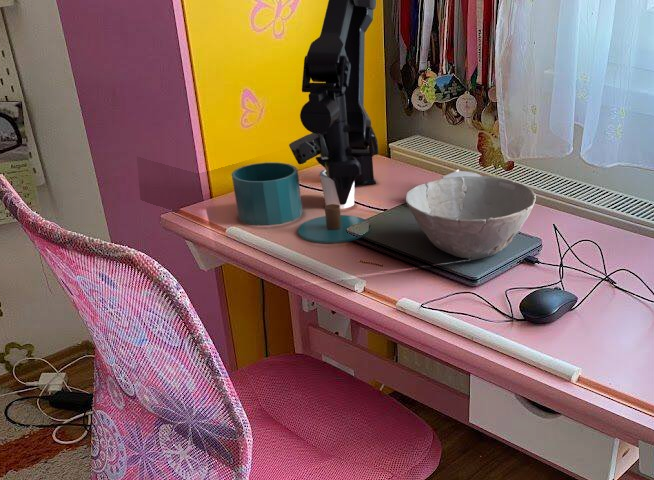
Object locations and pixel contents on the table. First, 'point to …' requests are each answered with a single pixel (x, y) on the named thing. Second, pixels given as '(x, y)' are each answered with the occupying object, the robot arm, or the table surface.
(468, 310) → the table surface
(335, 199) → the shot glass
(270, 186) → the canister
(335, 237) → the lid
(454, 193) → the ceramic bowl
